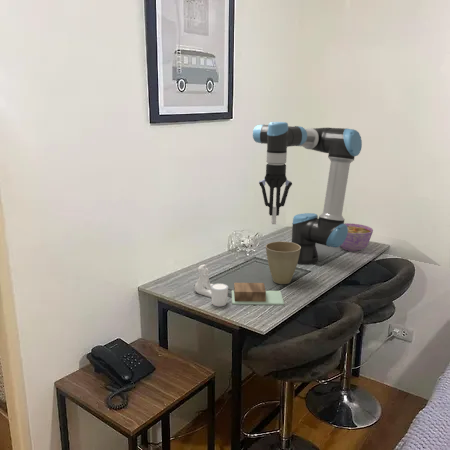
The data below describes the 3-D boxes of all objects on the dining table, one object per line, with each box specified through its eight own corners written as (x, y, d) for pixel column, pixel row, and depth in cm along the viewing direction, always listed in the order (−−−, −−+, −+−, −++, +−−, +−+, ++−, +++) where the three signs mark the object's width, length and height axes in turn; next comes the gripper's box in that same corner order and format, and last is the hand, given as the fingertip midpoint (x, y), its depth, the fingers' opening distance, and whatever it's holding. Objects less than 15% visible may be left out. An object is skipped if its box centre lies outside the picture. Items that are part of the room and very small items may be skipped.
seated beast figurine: (213, 298, 181) (213, 269, 178) (191, 296, 182) (191, 268, 179) (217, 288, 190) (217, 261, 187) (197, 287, 191) (197, 260, 188)
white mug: (228, 306, 173) (229, 289, 171) (210, 307, 173) (211, 290, 171) (227, 299, 180) (227, 282, 178) (210, 299, 179) (210, 283, 177)
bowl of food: (363, 243, 253) (365, 223, 250) (376, 255, 234) (378, 233, 230) (328, 243, 252) (329, 223, 249) (338, 255, 233) (339, 233, 230)
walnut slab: (263, 283, 184) (234, 282, 184) (265, 292, 176) (234, 291, 176) (263, 292, 185) (234, 291, 185) (265, 301, 177) (234, 301, 177)
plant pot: (291, 273, 207) (293, 240, 203) (303, 286, 193) (306, 250, 189) (260, 275, 204) (261, 242, 200) (270, 289, 190) (271, 252, 186)
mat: (280, 292, 187) (280, 290, 187) (284, 304, 176) (284, 303, 175) (231, 291, 187) (231, 290, 187) (232, 304, 175) (232, 302, 175)
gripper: (291, 162, 177) (288, 221, 183) (258, 162, 176) (256, 220, 183) (294, 165, 169) (291, 226, 176) (259, 164, 169) (257, 225, 176)
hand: (273, 223), depth 179 cm, fingers closed
